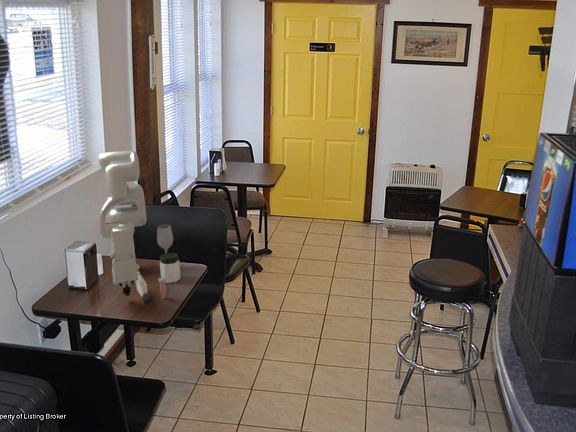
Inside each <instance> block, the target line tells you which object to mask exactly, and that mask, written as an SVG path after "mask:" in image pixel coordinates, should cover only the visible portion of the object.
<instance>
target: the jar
mask: <svg viewBox="0 0 576 432" xmlns="http://www.w3.org/2000/svg"><path fill="white" fill-rule="evenodd" d="M159 259H160V261H159V271H160V278H165V279H166V282H165V284H171V283H173V282H174V283H177V282H178V281H179V280H181V266H180V260H179V255H178V254H177V253H176V252H167V253H166V252H165V253H163V254H161V255H160V256H159Z"/></svg>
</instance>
